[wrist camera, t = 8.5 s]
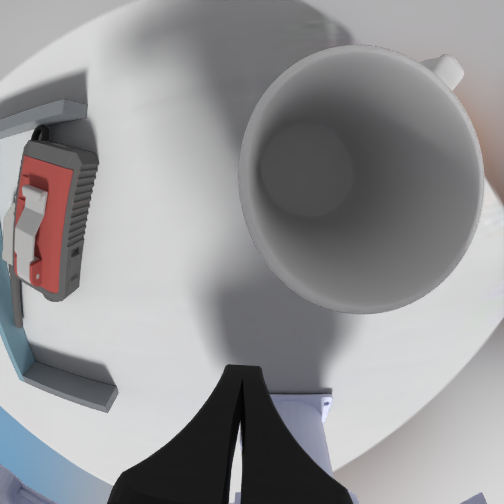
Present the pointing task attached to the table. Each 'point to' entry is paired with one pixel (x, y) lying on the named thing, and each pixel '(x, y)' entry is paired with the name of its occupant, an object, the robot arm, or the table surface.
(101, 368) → the table surface
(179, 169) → the table surface
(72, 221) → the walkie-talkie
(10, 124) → the tray
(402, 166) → the mug
